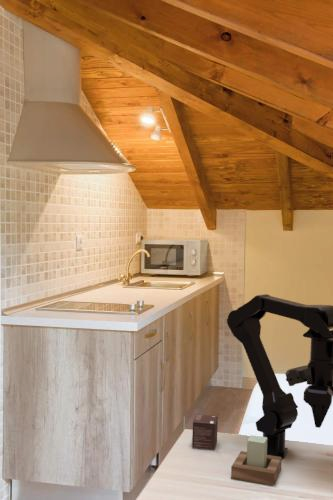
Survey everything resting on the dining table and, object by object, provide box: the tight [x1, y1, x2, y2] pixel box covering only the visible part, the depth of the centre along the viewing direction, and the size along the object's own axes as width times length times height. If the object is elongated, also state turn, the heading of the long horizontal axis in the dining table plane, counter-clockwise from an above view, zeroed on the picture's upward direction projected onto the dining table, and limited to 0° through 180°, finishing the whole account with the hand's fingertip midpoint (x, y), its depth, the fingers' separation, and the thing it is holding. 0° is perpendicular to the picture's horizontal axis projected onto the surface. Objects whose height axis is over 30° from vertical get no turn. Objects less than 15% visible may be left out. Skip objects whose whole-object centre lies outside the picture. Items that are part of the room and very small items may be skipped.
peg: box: [246, 434, 267, 468], centre depth 148 cm, size 4×4×8 cm
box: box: [191, 413, 219, 451], centre depth 166 cm, size 6×6×7 cm
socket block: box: [230, 450, 282, 487], centre depth 148 cm, size 10×10×3 cm
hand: (319, 421), depth 151 cm, fingers open, 9 cm apart
